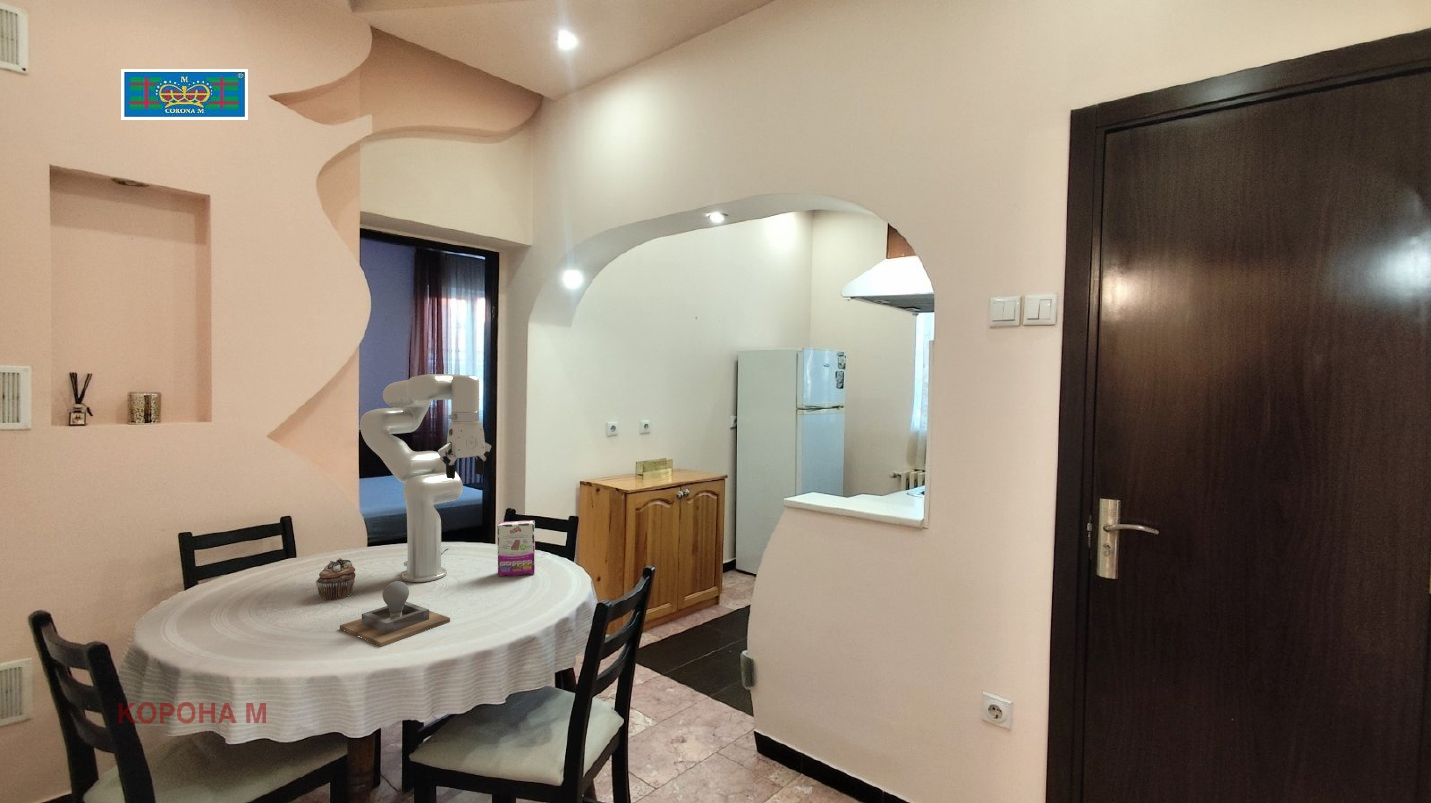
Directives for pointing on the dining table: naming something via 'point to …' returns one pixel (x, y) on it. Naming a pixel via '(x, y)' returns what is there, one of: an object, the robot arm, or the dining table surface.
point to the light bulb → (395, 598)
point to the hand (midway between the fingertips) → (465, 476)
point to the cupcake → (336, 580)
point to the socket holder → (394, 624)
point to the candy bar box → (516, 548)
